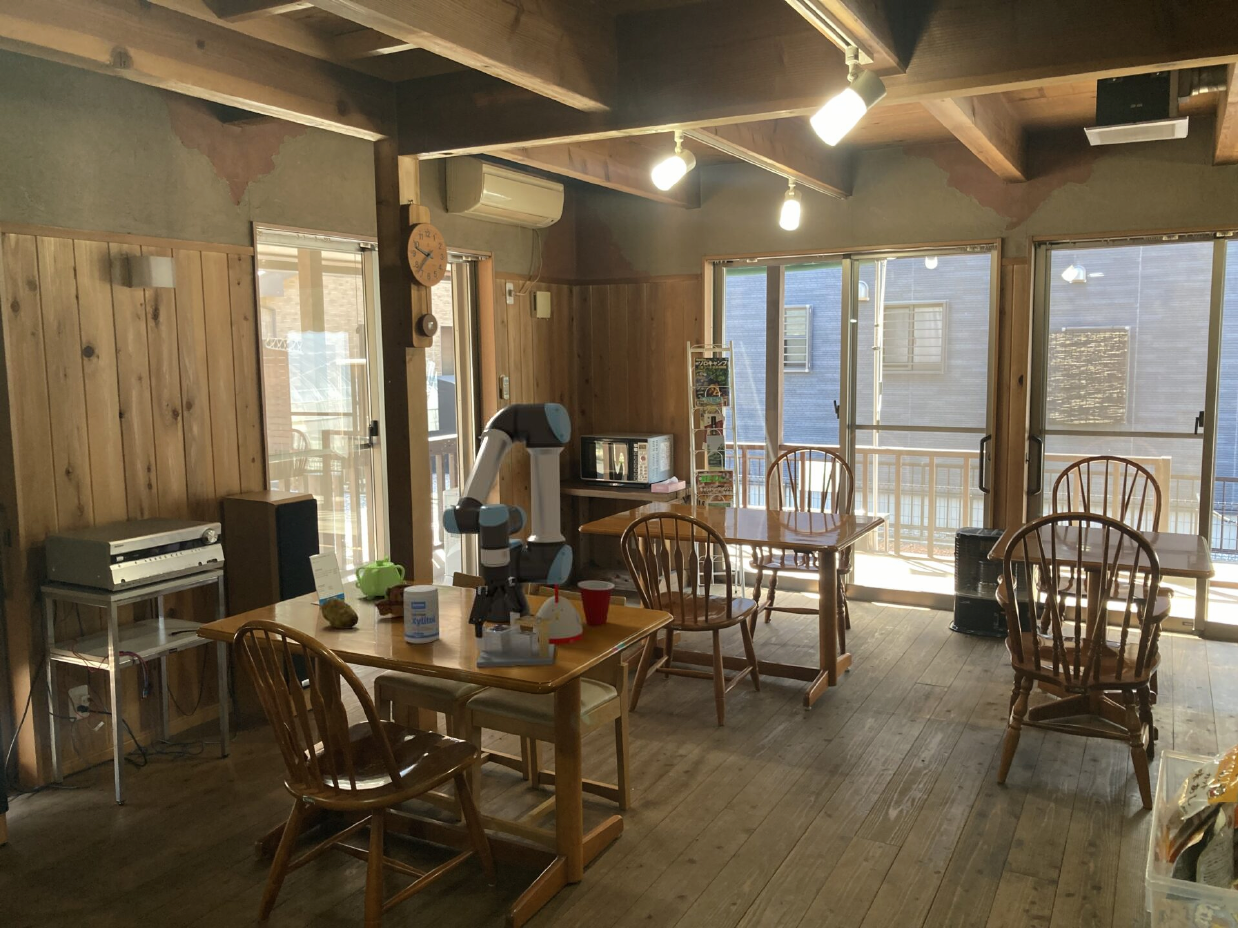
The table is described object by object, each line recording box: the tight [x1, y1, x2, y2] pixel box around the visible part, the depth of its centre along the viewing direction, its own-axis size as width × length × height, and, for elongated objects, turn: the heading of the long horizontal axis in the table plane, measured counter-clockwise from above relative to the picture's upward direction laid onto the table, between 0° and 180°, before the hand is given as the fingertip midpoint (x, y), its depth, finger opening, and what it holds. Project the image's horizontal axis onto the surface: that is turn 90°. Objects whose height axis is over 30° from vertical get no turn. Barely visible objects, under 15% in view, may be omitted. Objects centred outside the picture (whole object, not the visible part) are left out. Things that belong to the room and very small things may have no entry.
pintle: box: [493, 623, 503, 632], centre depth 253 cm, size 2×2×6 cm
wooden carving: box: [374, 583, 417, 617], centre depth 296 cm, size 16×5×10 cm, turn 116°
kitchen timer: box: [532, 584, 584, 645], centre depth 267 cm, size 14×14×15 cm
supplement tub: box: [403, 584, 440, 644], centre depth 268 cm, size 10×10×15 cm
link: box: [481, 624, 539, 657], centre depth 250 cm, size 15×7×6 cm, turn 56°
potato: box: [321, 597, 359, 629], centre depth 285 cm, size 8×13×8 cm, turn 35°
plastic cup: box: [577, 580, 615, 627], centre depth 281 cm, size 11×11×12 cm
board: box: [476, 644, 556, 668], centre depth 249 cm, size 14×19×1 cm
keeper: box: [514, 615, 553, 658], centre depth 246 cm, size 5×9×9 cm, turn 56°
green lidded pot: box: [354, 554, 408, 601], centre depth 325 cm, size 16×14×13 cm
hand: (499, 642), depth 253 cm, fingers open, 13 cm apart
